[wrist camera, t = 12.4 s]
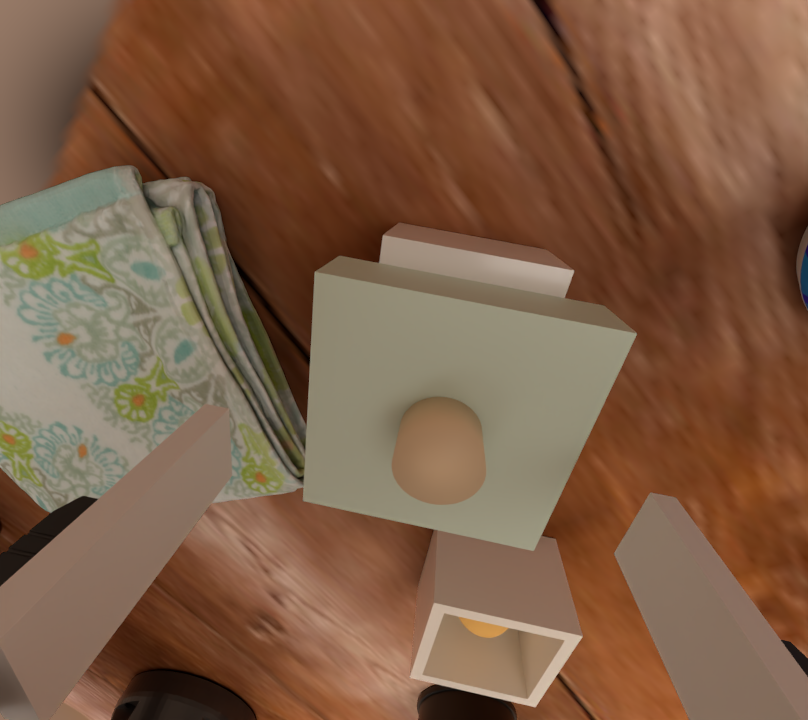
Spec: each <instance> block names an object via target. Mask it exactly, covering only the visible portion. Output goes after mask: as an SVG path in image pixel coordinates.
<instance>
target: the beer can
mask: <svg viewBox="0 0 808 720" xmlns="http://www.w3.org/2000/svg"><path fill="white" fill-rule="evenodd" d="M796 271H797V278H798V282H799V286H800V292H801V296H802V299H803V302H804V304H805V306H806V308H807V310H808V226H807V228H806V230H805V232H804V235H803V237H802V240H801V242H800V245H799V249H798V253H797V260H796Z"/></svg>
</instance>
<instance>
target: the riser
mask: <svg viewBox="0 0 808 720" xmlns="http://www.w3.org/2000/svg"><path fill="white" fill-rule="evenodd" d="M379 263H381V264H387V265H392V266H397V267H403V268H408V269H413V270H419V271H424V272H429V273H434V274H440V275H445V276H450V277H456V278H461V279H466V280H471V281H477V282H482V283H487V284H493V285H498V286H503V287H508V288H514V289H519V290H524V291H530V292H535V293H540V294H545V295H551V296H556V297H561V298H565V295H566V293H567V290H568V287H569V284H570V282H571V279H572V276H573V273H574V270H573V269H572V268H570V267H569V266H568V265H566V264H565V263H564V262H563V261H561V260H560V259H559V258H557V257H556V256H555V255H553V254H552V253H551V252H549V251H548V250H546V249H541V248H535V247H530V246H525V245H519V244H514V243H508V242H503V241H497V240H492V239H487V238H481V237H476V236H470V235H465V234H459V233H454V232H448V231H443V230H438V229H432V228H427V227H421V226H416V225H410V224H405V223H400V222H399V223H398V224H397V225H395V226H394V227H393V228H391V229H390V230H389V231H387V232H386V233H385V234H383V237H382V245H381V253H380V261H379Z"/></svg>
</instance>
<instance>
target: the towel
mask: <svg viewBox="0 0 808 720" xmlns="http://www.w3.org/2000/svg"><path fill="white" fill-rule="evenodd" d="M204 404H209V405H214V406H219V407H224V408H229V417H230V438H231V459H232V477H231V478H230V479H229V481H228V482H227V483H226V485H225V486H224V487H223V489H222V490H221V491H220V493H219V494H218V495H217V497H216V498H215V499H214V501H213V502H212V503H219V502H226V501H232V500H241V499H248V498H256V497H261V496H269V495H276V494H284V493H288V492H294V491H296V490H297V488H303V487H304V469H305V450H306V430H307V426H306V424H305V422H304V420H303V418H302V416H301V413H300V411H299V409H298V407H297V404H296V402H295V400H294V398H293V395H292V392H291V390H290V388H289V385H288V383H287V380H286V378H285V375H284V373H283V370H282V368H281V365H280V363H279V361H278V358H277V356H276V353H275V351H274V349H273V346H272V344H271V342H270V339H269V337H268V335H267V332H266V330H265V328H264V326H263V324H262V322H261V320H260V318H259V316H258V314H257V312H256V310H255V308H254V306H253V304H252V302H251V300H250V298H249V296H248V293H247V291H246V289H245V287H244V284H243V282H242V280H241V278H240V275H239V273H238V271H237V268H236V266H235V264H234V262H233V259H232V257H231V255H230V252H229V250H228V247H227V244H226V236H225V232H224V227H223V223H222V218H221V212H220V209H219V207H218V205H217V203H216V199H215V194H214V192H213V191H212V189H211V188H209V187H207V186H205V185H204V184H203V183H201V182H194V181H191V179H190V178H189V177H179V178H173V179H167V180H157V181H152V182H146V183H142V177H141V175H140V173H139V171H138V169H137V168H136V167H134V166H131V165H125V166H115V167H111V168H108V169H104V170H100V171H95V172H92V173H89V174H86V175H83V176H81V177H78V178H75V179H72V180H69V181H67V182H64V183H61V184H59V185H56V186H53V187H51V188H48V189H45V190H42V191H39V192H37V193H34V194H31V195H28V196H24V197H21V198H18V199H16V200H13V201H10V202H7V203H5V204H2V205H0V468H1V469H2V470H3V471H4V472H5V473H6V474H7V475H8V476H9V477H10V478H11V479H12V480H13V481H14V482H15V483H16V484H17V485H18V486H19V487H20V488H21V489H22V490H24V491H25V492H26V493H27V494H28V495H29V496H30V497H31V498H32V499H33V500H34V501H35V502H36V503H37V504H38V505H39V506H40V507H42V508H43V509H44V510H46V511H48V512H50V513H52V512H53V511H54V510H56V509H58V508H60V507H62V506H64V505H66V504H68V503H70V502H71V501H73V500H75V499H77V498H79V497H81V496H87V497H92V498H96V499H99V498H100V497H101V496H102V495H103V494H105V493H106V492H107V491H108V490H109V489H110V488H111V487H112V486H114V485H115V484H116V483H117V482H118V481H119V480H120V479H121V478H123V477H124V476H125V475H126V474H127V473H128V472H129V471H130V470H132V469H133V468H134V467H135V466H136V465H137V464H138V463H139V462H141V461H142V460H143V459H144V458H145V457H146V456H147V455H148V454H150V453H151V452H152V451H153V450H154V449H155V448H156V447H157V446H158V445H160V444H161V443H162V442H163V441H164V440H165V439H166V438H167V437H169V436H170V435H171V434H172V433H173V432H174V431H175V430H176V429H178V428H179V427H180V426H181V425H182V424H183V423H184V422H185V421H187V420H188V419H189V418H190V417H191V416H192V415H193V414H194V413H196V412H197V411H198V410H199V409H200V408H201V407H202V406H203V405H204Z"/></svg>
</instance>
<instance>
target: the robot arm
mask: <svg viewBox="0 0 808 720" xmlns="http://www.w3.org/2000/svg"><path fill="white" fill-rule="evenodd" d="M231 477H232V459H231V438H230V417H229V408H224V407H219V406H214V405H209V404H204V405H203V406H202V407H201V408H200V409H199V410H198V411H197V412H196V413H194V414H193V415H192V416H191V417H190V418H189V419H188V420H187V421H185V422H184V423H183V424H182V425H181V426H180V427H179V428H178V429H176V430H175V431H174V432H173V433H172V434H171V435H170V436H169V437H167V438H166V439H165V440H164V441H163V442H162V443H161V444H160V445H158V446H157V447H156V448H155V449H154V450H153V451H152V452H151V453H150V454H148V455H147V456H146V457H145V458H144V459H143V460H142V461H141V462H139V463H138V464H137V465H136V466H135V467H134V468H133V469H132V470H130V471H129V472H128V473H127V474H126V475H125V476H124V477H123V478H121V479H120V480H119V481H118V482H117V483H116V484H115V485H114V486H112V487H111V488H110V489H109V490H108V491H107V492H106V493H105V494H103V495H102V496H101V497H100V498H99V499H96V498H92V497H87V496H81V497H79V498H77V499H75V500H73V501H71V502H70V503H68V504H66V505H64V506H62V507H60V508H58V509H56V510H54V511H53V512H52V513H51V514H49V515H48V516H47V517H46V518H44V519H43V520H42V521H41V522H40V523H38V524H37V525H36V526H35V527H33V528H32V529H31V530H30V532H29V534H28V535H24V536H23V537H21V538H20V539H19V540H18V541H16V542H15V543H14V544H13V545H12V546H10V547H9V550H8V551H7V552H3V553H2V554H1V555H0V713H1V714H2V716H3V718H5V719H9V720H50V718H51V717H52V716H53V714H54V713H55V712H56V710H57V709H58V708H59V706H60V705H61V704H62V702H63V701H64V700H65V698H66V697H67V696H68V694H69V693H70V692H71V690H72V689H73V688H74V686H75V685H76V684H77V682H78V681H79V680H80V678H81V677H82V676H83V674H84V673H85V672H86V670H87V669H88V668H89V666H90V665H91V664H92V662H93V661H94V660H95V658H96V657H97V656H98V654H99V653H100V652H101V650H102V649H103V648H104V646H105V645H106V644H107V642H108V641H109V640H110V638H111V637H112V636H113V634H114V633H115V632H116V630H117V629H118V628H119V626H120V625H121V624H122V622H123V621H124V620H125V618H126V617H127V616H128V614H129V613H130V612H131V610H132V609H133V608H134V606H135V605H136V604H137V602H138V601H139V600H140V598H141V597H142V596H143V594H144V593H145V592H146V590H147V589H148V588H149V586H150V585H151V584H152V582H153V581H154V580H155V578H156V577H157V576H158V574H159V573H160V572H161V570H162V569H163V568H164V566H165V565H166V563H167V562H168V561H169V559H170V558H171V557H172V555H173V554H174V553H175V551H176V550H177V549H178V547H179V546H180V545H181V543H182V542H183V541H184V539H185V538H186V537H187V535H188V534H189V533H190V531H191V530H192V529H193V527H194V526H195V525H196V523H197V522H198V521H199V519H200V518H201V517H202V515H203V514H204V513H205V511H206V510H207V509H208V507H209V506H210V505H211V503H212V502H213V501H214V499H215V498H216V497H217V495H218V494H219V493H220V491H221V490H222V489H223V487H224V486H225V485H226V483H227V482H228V481H229V479H230V478H231ZM614 555H615V557H616V559H617V561H618V564H619V566H620V568H621V570H622V572H623V575H624V577H625V579H626V581H627V583H628V586H629V588H630V590H631V592H632V594H633V597H634V599H635V601H636V603H637V606H638V608H639V610H640V612H641V614H642V617H643V619H644V621H645V623H646V625H647V628H648V630H649V632H650V634H651V636H652V639H653V641H654V643H655V645H656V647H657V650H658V652H659V654H660V656H661V658H662V661H663V663H664V665H665V667H666V669H667V672H668V674H669V676H670V678H671V680H672V683H673V685H674V687H675V689H676V692H677V694H678V696H679V698H680V700H681V703H682V705H683V707H684V709H685V711H686V714H687V716H688V718H689V720H808V658H807V657H806V656H805V655H803V654H802V653H801V652H800V651H799V650H798V649H797V648H796V647H795V646H794V645H793V644H792V643H791V642H789V641H784V640H780V639H779V637H778V636H777V634H776V633H775V632H774V630H773V629H772V628H771V626H770V625H769V624H768V622H767V621H766V619H765V618H764V617H763V615H762V614H761V613H760V611H759V610H758V609H757V607H756V606H755V605H754V603H753V602H752V600H751V599H750V598H749V596H748V595H747V594H746V592H745V591H744V590H743V588H742V587H741V585H740V584H739V583H738V581H737V580H736V579H735V577H734V576H733V575H732V573H731V572H730V570H729V569H728V568H727V566H726V565H725V564H724V562H723V561H722V560H721V558H720V557H719V556H718V554H717V553H716V551H715V550H714V549H713V547H712V546H711V545H710V543H709V542H708V541H707V539H706V538H705V536H704V535H703V534H702V532H701V531H700V530H699V528H698V527H697V526H696V524H695V523H694V522H693V520H692V519H691V517H690V516H689V515H688V513H687V512H686V511H685V509H684V508H683V507H682V505H681V504H680V502H679V501H678V500H677V498H676V497H671V496H666V495H661V494H656V493H650V494H649V496H648V497H647V499H646V501H645V502H644V504H643V506H642V507H641V509H640V511H639V512H638V514H637V516H636V518H635V519H634V521H633V523H632V524H631V526H630V528H629V529H628V531H627V533H626V534H625V536H624V538H623V539H622V541H621V543H620V544H619V546H618V548H617V549H616V551H615V553H614ZM111 720H256V718H255V716H254V714H253V712H252V711H251V709H250V708H249V707H248V706H247V705H246V704H245V703H244V702H243V701H242V700H241V699H239V698H238V697H237V696H235V695H234V694H232V693H231V692H229V691H227V690H226V689H224V688H222V687H220V686H218V685H216V684H214V683H212V682H209V681H207V680H204V679H201V678H198V677H195V676H192V675H188V674H183V673H178V672H172V671H149V672H144V673H141V674H139V675H137V676H135V677H134V678H133V679H132V680H131V682H130V684H129V685H128V687H127V688H126V690H125V691H124V693H123V694H122V696H121V698H120V699H119V701H118V703H117V705H116V707H115V709H114V712H113V715H112V717H111Z"/></svg>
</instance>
